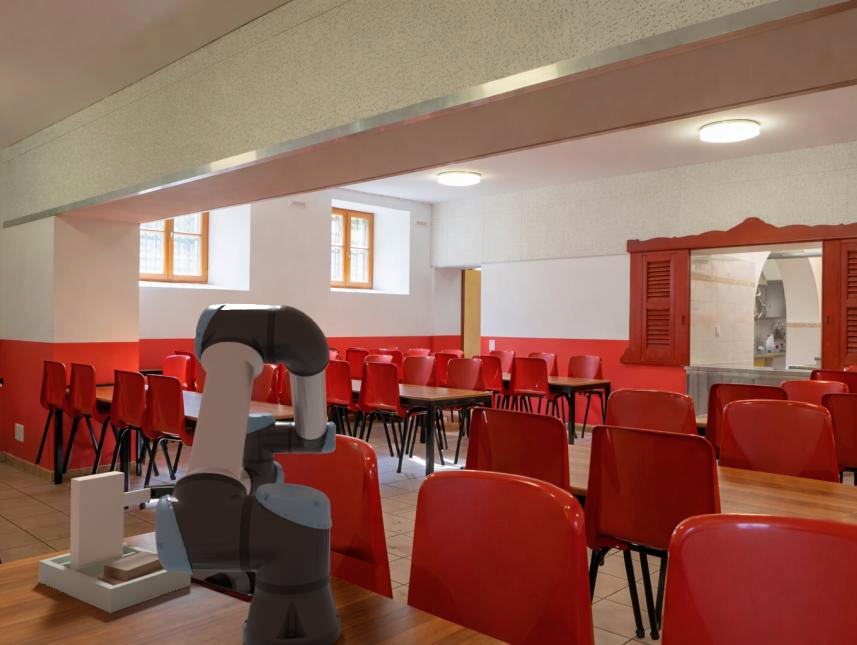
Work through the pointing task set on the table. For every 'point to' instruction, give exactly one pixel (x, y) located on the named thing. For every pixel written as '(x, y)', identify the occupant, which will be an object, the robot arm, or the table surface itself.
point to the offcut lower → (115, 581)
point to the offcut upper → (133, 566)
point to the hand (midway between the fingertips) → (140, 505)
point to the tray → (102, 594)
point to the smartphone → (228, 582)
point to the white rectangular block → (96, 518)
